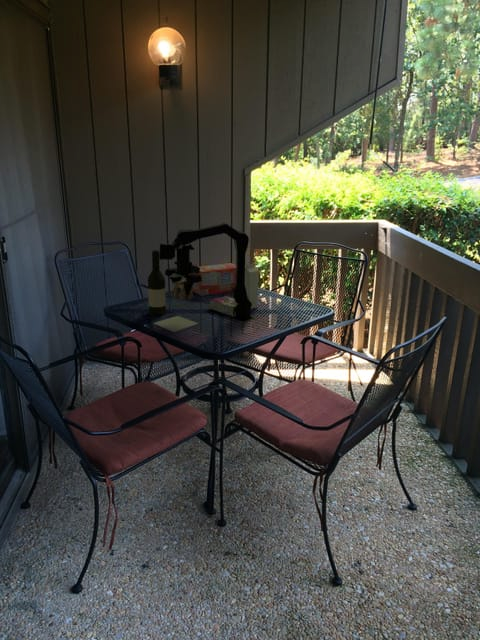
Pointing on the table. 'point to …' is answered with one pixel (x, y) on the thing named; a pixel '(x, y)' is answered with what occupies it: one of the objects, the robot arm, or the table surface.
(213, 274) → the box
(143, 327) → the table surface
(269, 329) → the table surface
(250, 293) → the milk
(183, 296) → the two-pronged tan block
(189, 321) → the mat
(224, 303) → the candy bar box
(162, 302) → the wine bottle
